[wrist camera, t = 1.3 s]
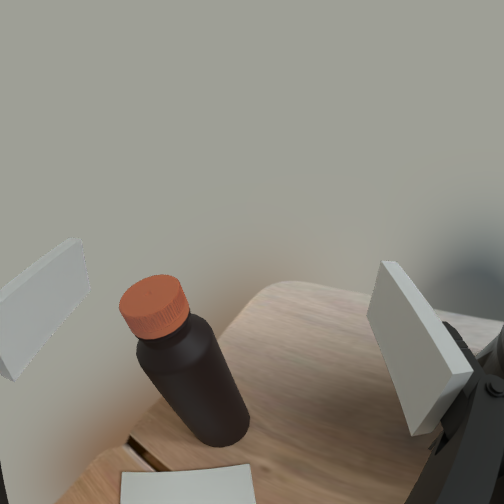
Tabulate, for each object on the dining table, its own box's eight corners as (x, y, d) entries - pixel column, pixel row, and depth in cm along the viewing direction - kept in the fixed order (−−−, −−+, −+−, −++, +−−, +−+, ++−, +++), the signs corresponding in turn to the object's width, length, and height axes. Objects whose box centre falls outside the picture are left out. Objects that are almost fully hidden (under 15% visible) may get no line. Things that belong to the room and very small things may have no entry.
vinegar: (183, 422, 32) (97, 298, 22) (226, 390, 35) (166, 257, 25) (216, 459, 27) (124, 343, 17) (263, 422, 30) (211, 287, 20)
